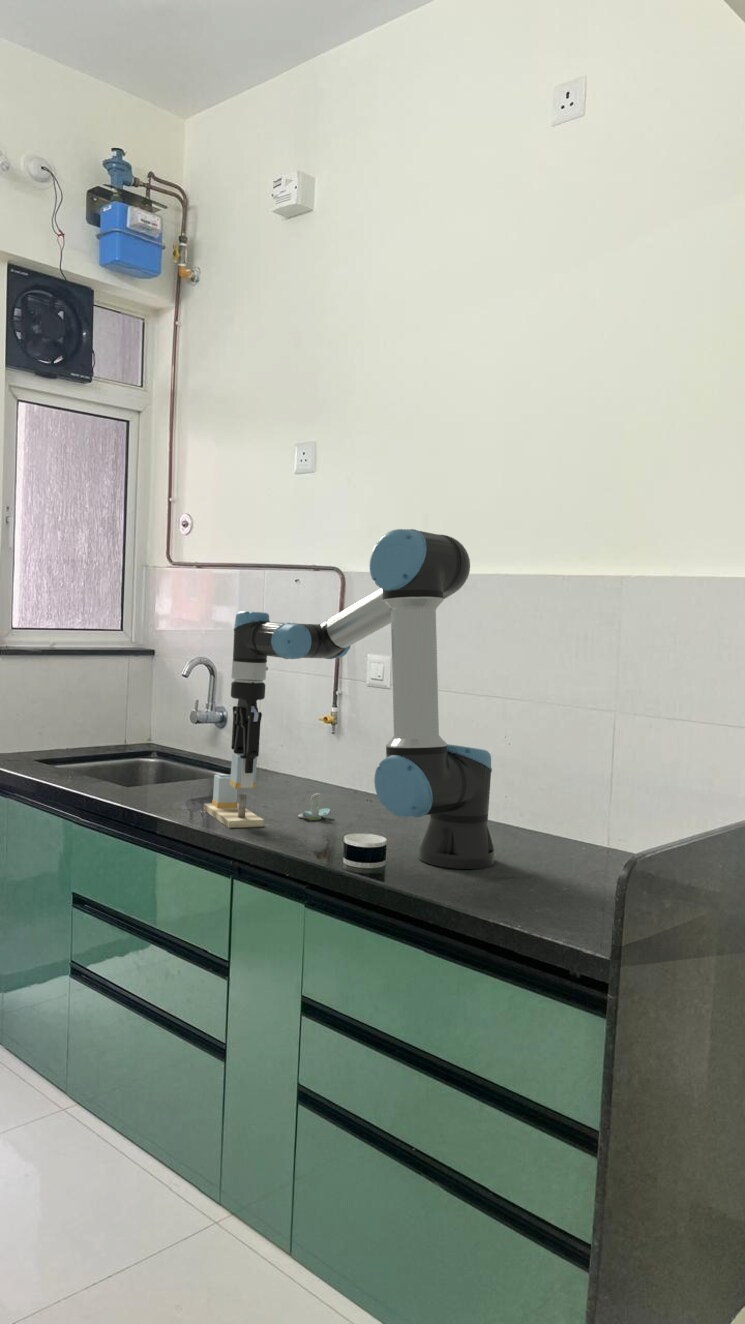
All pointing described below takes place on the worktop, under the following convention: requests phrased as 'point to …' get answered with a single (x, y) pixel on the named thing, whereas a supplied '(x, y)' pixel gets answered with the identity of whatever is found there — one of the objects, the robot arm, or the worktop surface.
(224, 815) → the pin board
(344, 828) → the worktop surface
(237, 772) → the sleeve
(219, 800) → the sleeve
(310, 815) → the pacifier
